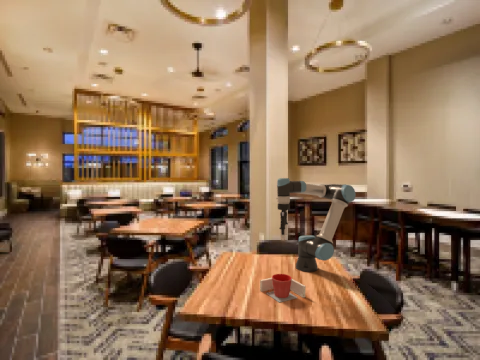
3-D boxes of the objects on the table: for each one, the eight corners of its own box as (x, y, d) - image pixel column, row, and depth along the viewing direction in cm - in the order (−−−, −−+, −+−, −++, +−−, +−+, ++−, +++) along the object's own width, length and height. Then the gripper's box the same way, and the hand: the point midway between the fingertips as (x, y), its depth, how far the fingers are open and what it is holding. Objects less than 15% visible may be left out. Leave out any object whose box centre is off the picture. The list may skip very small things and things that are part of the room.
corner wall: (285, 285, 156) (285, 275, 156) (305, 297, 140) (305, 285, 140) (260, 290, 147) (260, 280, 147) (278, 303, 132) (278, 292, 132)
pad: (283, 289, 150) (283, 288, 150) (297, 298, 139) (297, 297, 139) (265, 293, 144) (265, 292, 144) (279, 302, 133) (279, 302, 133)
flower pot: (270, 298, 137) (271, 280, 137) (272, 289, 148) (272, 272, 148) (291, 300, 135) (291, 281, 135) (291, 291, 146) (291, 274, 146)
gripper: (279, 201, 175) (279, 232, 175) (275, 205, 151) (275, 242, 151) (291, 201, 173) (291, 233, 173) (288, 205, 149) (288, 242, 149)
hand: (284, 237), depth 162 cm, fingers open, 13 cm apart
